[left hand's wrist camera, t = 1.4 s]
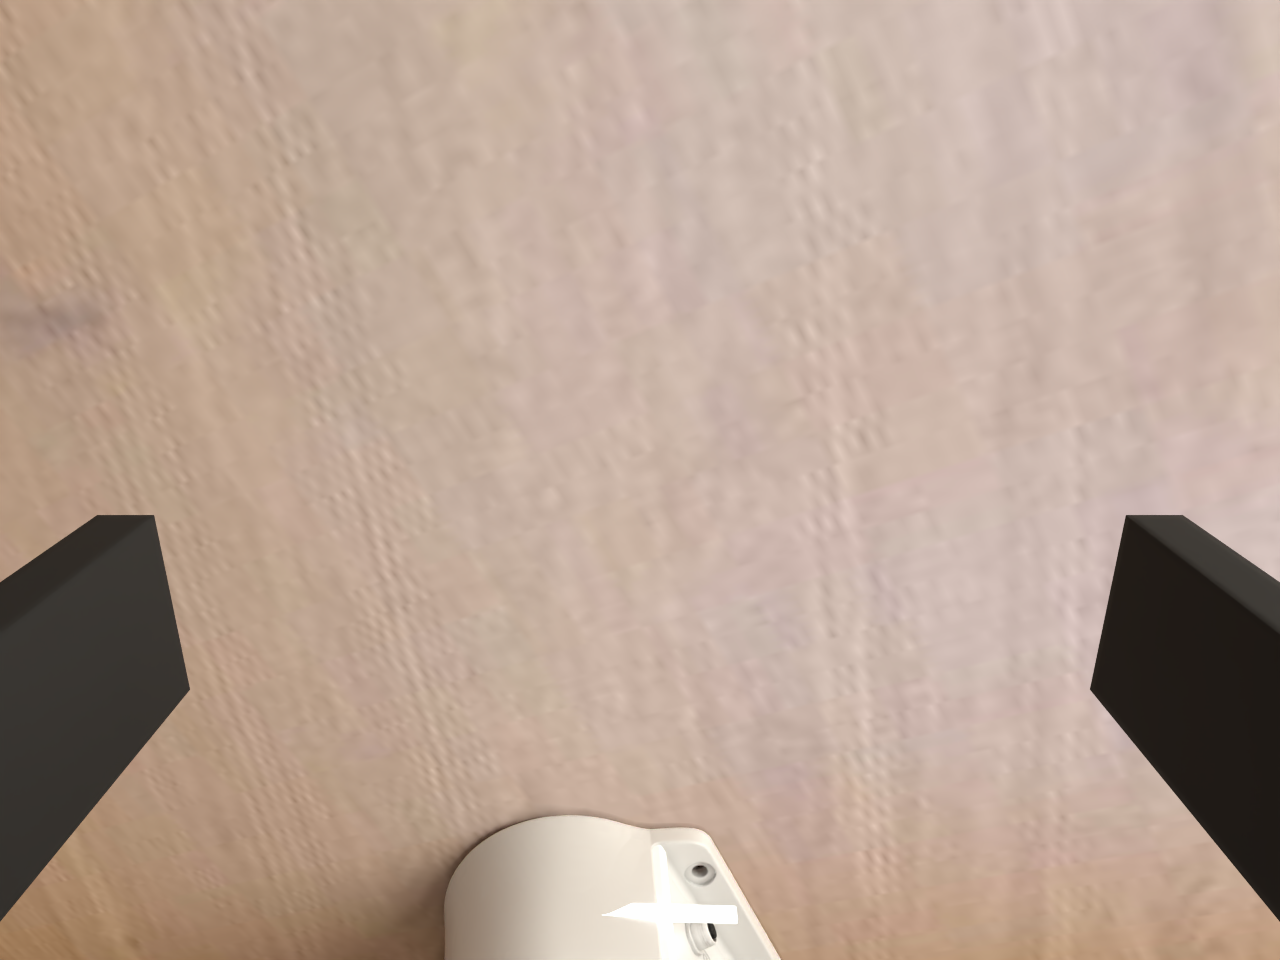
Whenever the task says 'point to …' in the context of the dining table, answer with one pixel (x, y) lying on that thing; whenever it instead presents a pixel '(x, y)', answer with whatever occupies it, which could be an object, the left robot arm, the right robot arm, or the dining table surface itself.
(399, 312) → the dining table surface
